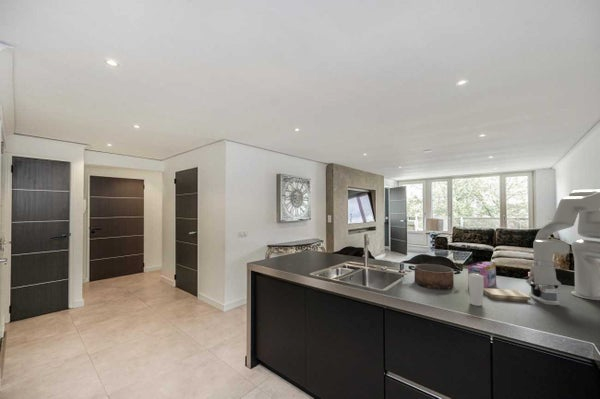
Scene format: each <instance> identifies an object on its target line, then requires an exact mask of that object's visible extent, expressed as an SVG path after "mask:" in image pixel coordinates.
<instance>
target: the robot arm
mask: <svg viewBox="0 0 600 399" xmlns="http://www.w3.org/2000/svg"><path fill="white" fill-rule="evenodd" d="M577 217H578V220H577ZM576 220H577V233H578V234H577V235H578V236H580V237H582V238H587V239H578V240H575V241H573V242H572V243H571V246H570V244H569V243H568V242H566V241H565V240H560V239H555V238H554V239H553V238H550V236H551V235H553V234H554V233H557V232H559V231H563V230H566V229H569V228H572V227H573V226H575V224H576ZM588 238H589V239H597V240H589V239H588ZM598 240H600V188H596V189H595V188H593V189H589V188H588V189H578V190H573V191H571V192H569V195H568V196H565V197H563V198H561V199H560V200H559V203H558V205H557V208H556V210H555V212H554V216H553V218H552V220H551V221H549V222H548V223H547V224H545V225H544V226H543V227H541V228H540V229H539V231H537V233H536V236H535V239H534V241H533V244H532V245H533V246H532V248H533V251H532V255H533V264H531V266H530V270H529V277H528V279H526V280H525V283H526V284H528V286H529V285H530V286H529V287H530V288H531V287H532V288H533V295H534V296H536V297H539V290H538V287H539V285H549V286H551V287H554V288H556V289H559V287H560V286H562V283H561V281H559V280H558V279H557V273H556V269H555V267H554V265H556V262H555V261H554V260H553V258H554V257H553V255H555V254H556V255H566V254H568V253H569V252H570V250H571V252H572V255H573V261H574V265H573V266H574V290H572V291H570V294H571V295H572V296H575V297H578V298H582V299H586V300H592V301H600V264H599V262H598V261H597V260H600V241H598ZM596 259H597V260H596ZM531 282H533V284H532V283H531Z"/></svg>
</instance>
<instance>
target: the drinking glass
mask: <svg viewBox="0 0 600 399" xmlns="http://www.w3.org/2000/svg"><path fill="white" fill-rule="evenodd" d="M467 285H468V286H469V287H468V286H467V287H468V292H469V303H470V304H471V305H472V306H475V307H482V306H483V300H484V299H483V298H484V292H483V289H484V276H482V275H479V274H468V273H467Z"/></svg>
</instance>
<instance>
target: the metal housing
mask: <svg viewBox="0 0 600 399" xmlns="http://www.w3.org/2000/svg"><path fill="white" fill-rule="evenodd" d="M531 283H532V284H533V282H531ZM528 286H529V287H530V290H531V292H529V295H528V296H530V297H531V299H532V298H533V300H536V301H537V302H540V303H542V304H544V305H549V306H550V305H551V306H560V301H559V300H558V299H557V298H558V297H557V295H558V294H560V290H559V288H557V289H556V288H554V287H551V286H549V285H539V287H538V290H539V297H536V296H534V295H533V288H532V287H531V286H530V285H529V284H528Z"/></svg>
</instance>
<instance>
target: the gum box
mask: <svg viewBox="0 0 600 399" xmlns="http://www.w3.org/2000/svg"><path fill="white" fill-rule="evenodd" d="M496 270H497V267H496V262H493V263H492V262H487V261H485V260H483V261H482V260H481V261H479V262H476V263H471V264H469V265H467V275H468V274H479V275H482V276H484V288H490V287H492V286H494V285H496V284H497V271H496ZM467 287H468V288H469V286H467Z"/></svg>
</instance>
